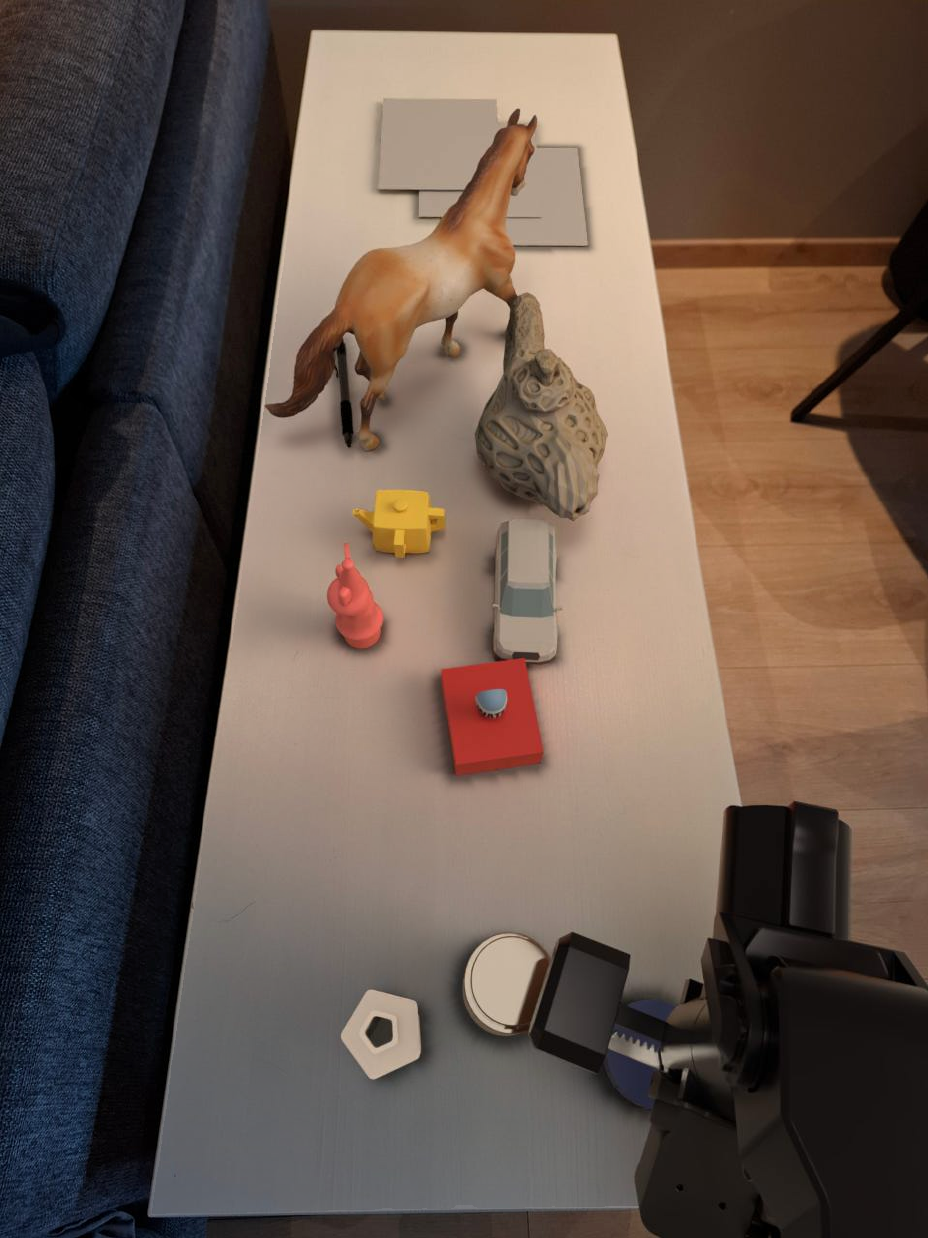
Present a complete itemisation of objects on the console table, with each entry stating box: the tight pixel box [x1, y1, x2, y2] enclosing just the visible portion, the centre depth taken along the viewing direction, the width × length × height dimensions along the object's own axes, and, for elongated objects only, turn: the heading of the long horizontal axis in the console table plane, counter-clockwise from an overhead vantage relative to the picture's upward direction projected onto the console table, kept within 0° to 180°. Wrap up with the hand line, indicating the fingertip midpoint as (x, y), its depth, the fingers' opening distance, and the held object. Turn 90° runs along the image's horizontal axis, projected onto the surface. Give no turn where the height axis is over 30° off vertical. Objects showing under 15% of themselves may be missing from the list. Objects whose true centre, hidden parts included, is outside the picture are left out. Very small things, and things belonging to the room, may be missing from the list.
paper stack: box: [378, 97, 589, 247], centre depth 100 cm, size 23×25×1 cm
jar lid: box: [603, 998, 677, 1111], centre depth 58 cm, size 7×7×2 cm
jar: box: [461, 931, 552, 1037], centre depth 57 cm, size 6×6×9 cm
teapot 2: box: [474, 292, 609, 522], centre depth 75 cm, size 21×12×15 cm, turn 12°
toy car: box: [491, 518, 563, 666], centre depth 73 cm, size 6×13×5 cm, turn 178°
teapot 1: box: [352, 489, 446, 559], centre depth 75 cm, size 8×6×5 cm
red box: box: [440, 658, 545, 776], centre depth 67 cm, size 8×7×6 cm
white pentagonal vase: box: [340, 989, 422, 1080], centre depth 53 cm, size 5×4×15 cm
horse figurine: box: [264, 108, 538, 451], centre depth 77 cm, size 31×8×21 cm, turn 133°
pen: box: [333, 337, 355, 449], centre depth 84 cm, size 14×2×1 cm, turn 7°
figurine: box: [326, 542, 384, 650], centre depth 68 cm, size 4×4×12 cm
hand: (674, 1052), depth 53 cm, fingers open, 9 cm apart
